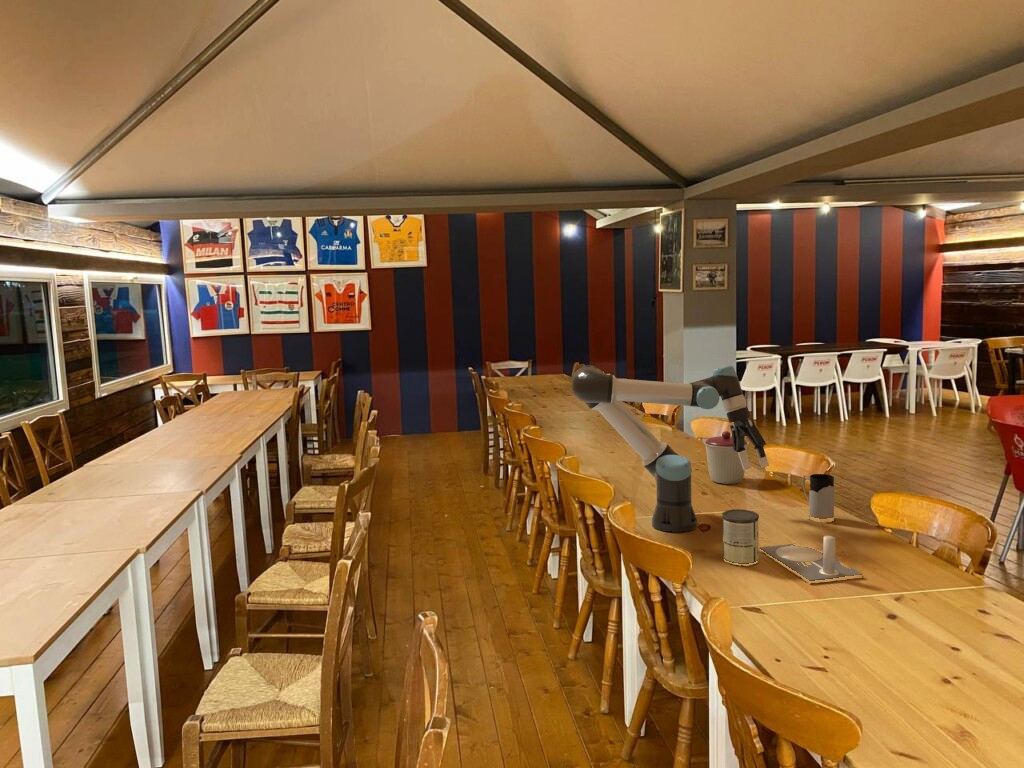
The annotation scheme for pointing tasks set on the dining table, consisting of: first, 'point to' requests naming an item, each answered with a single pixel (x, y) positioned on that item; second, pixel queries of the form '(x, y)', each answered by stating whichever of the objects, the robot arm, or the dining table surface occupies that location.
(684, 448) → the dining table surface
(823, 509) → the grey and black mug
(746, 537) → the coffee can
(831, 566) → the pegged base plate
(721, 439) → the canister
